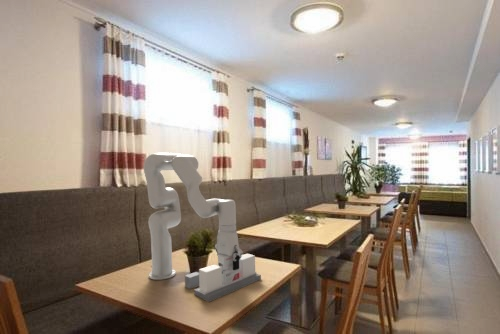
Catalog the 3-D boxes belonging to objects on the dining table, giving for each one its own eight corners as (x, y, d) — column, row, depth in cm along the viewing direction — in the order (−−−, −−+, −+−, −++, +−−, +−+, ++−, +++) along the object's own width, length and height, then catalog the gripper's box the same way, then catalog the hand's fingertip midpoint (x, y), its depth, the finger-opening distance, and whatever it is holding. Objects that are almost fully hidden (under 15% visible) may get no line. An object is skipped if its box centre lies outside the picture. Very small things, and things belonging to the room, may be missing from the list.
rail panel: (194, 294, 124) (193, 268, 124) (245, 274, 145) (245, 251, 145) (208, 301, 117) (208, 274, 117) (260, 279, 138) (260, 256, 138)
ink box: (232, 275, 136) (232, 250, 136) (240, 278, 132) (239, 252, 132) (217, 281, 130) (216, 254, 130) (225, 284, 126) (224, 256, 126)
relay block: (185, 286, 133) (184, 275, 133) (196, 282, 137) (195, 271, 137) (190, 289, 130) (189, 277, 130) (201, 284, 134) (201, 273, 134)
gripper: (208, 226, 134) (209, 264, 135) (234, 232, 122) (235, 274, 122) (221, 224, 140) (222, 260, 140) (247, 229, 127) (248, 269, 128)
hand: (228, 266), depth 131 cm, fingers open, 9 cm apart
